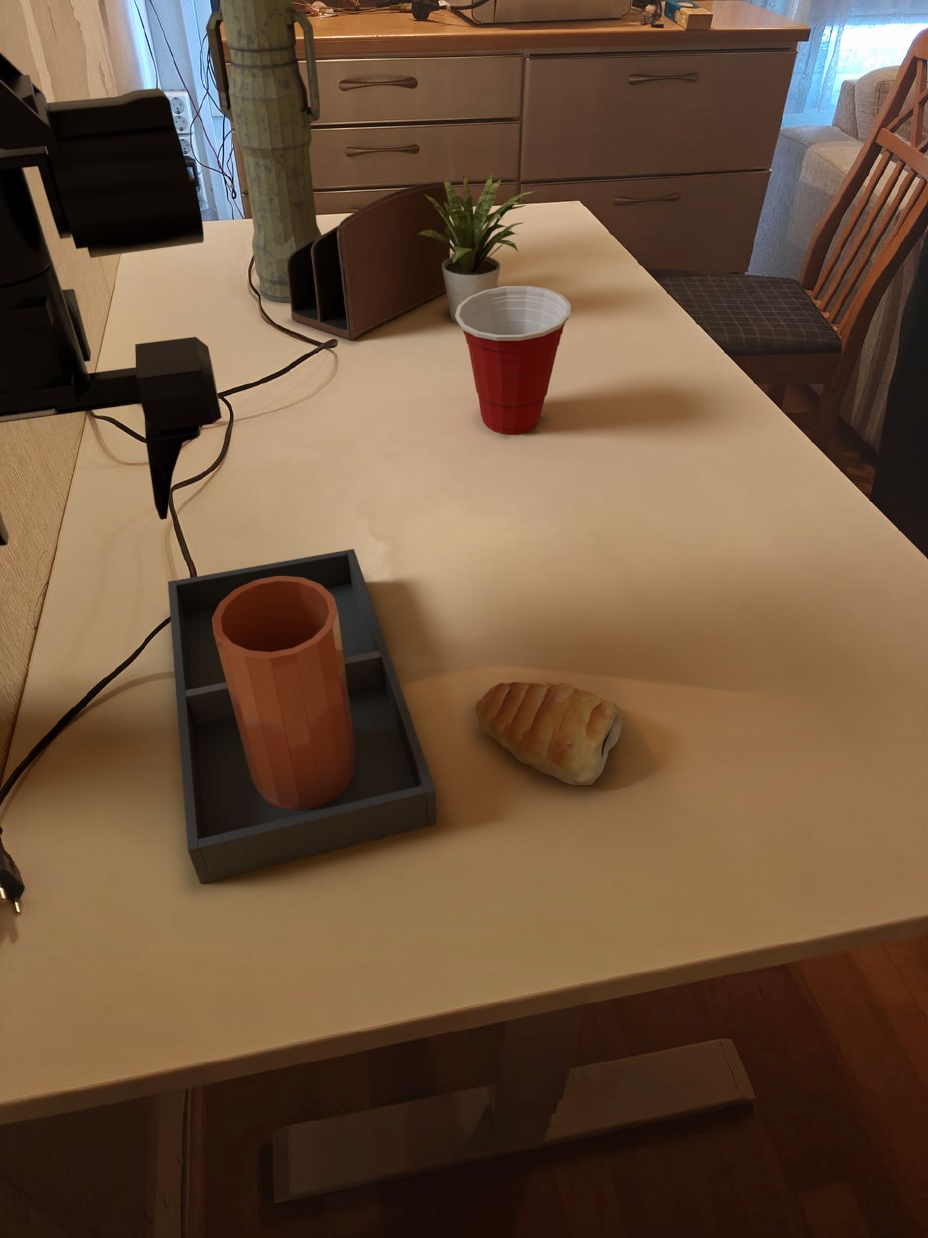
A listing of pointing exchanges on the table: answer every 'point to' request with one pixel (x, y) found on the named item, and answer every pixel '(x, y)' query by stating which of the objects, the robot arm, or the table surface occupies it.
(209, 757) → the tray
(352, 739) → the cup
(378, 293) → the letter holder
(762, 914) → the table surface
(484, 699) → the pastry
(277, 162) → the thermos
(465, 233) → the house plant
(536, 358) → the plastic cup
